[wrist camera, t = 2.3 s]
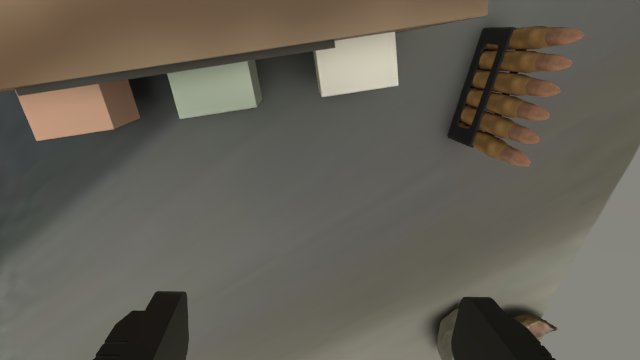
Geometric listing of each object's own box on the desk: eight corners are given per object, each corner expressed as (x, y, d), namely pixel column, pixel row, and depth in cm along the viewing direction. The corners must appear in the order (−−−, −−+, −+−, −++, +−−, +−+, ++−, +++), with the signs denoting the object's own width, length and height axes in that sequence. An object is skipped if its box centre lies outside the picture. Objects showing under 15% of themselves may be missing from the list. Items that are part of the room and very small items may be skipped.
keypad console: (43, 5, 31) (-264, -51, 14) (385, -47, 31) (490, -163, 14) (73, 86, 33) (-158, 122, 16) (391, 38, 34) (487, 24, 17)
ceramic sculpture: (485, 336, 35) (599, 363, 39) (446, 281, 43) (543, 307, 47) (435, 411, 38) (545, 430, 42) (408, 346, 46) (501, 367, 50)
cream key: (308, 17, 27) (310, 11, 23) (378, 6, 27) (392, -2, 23) (318, 90, 29) (322, 97, 25) (384, 80, 29) (398, 85, 25)
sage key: (177, 37, 27) (156, 34, 23) (248, 26, 27) (239, 21, 23) (196, 109, 29) (179, 118, 25) (262, 99, 29) (256, 107, 25)
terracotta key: (46, 57, 27) (1, 57, 23) (117, 46, 27) (84, 45, 23) (73, 128, 29) (36, 141, 25) (140, 118, 29) (114, 129, 25)
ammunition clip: (463, 140, 37) (535, 178, 26) (447, 137, 37) (512, 174, 26) (501, 32, 34) (602, 22, 23) (483, 27, 34) (576, 15, 22)
